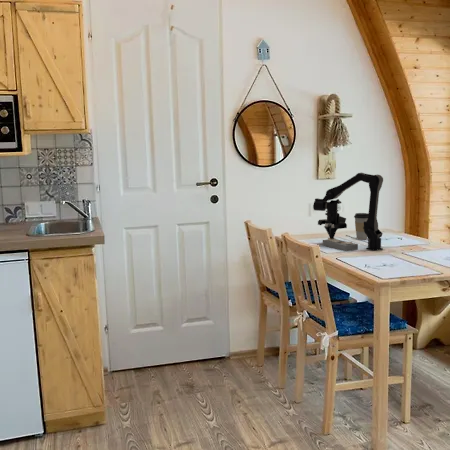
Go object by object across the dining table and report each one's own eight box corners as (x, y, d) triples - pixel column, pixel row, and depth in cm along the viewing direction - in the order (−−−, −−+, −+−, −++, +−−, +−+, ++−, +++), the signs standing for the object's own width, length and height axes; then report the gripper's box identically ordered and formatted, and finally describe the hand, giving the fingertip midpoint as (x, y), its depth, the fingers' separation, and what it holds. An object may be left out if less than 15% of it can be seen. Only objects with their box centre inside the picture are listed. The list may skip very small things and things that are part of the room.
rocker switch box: (357, 249, 279) (357, 243, 278) (346, 251, 275) (346, 245, 275) (333, 243, 296) (333, 238, 296) (322, 245, 293) (322, 239, 292)
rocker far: (340, 243, 288) (340, 241, 288) (334, 243, 286) (335, 241, 286) (332, 239, 293) (333, 237, 293) (327, 239, 292) (327, 237, 291)
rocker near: (352, 243, 279) (352, 241, 279) (347, 244, 277) (346, 242, 277) (344, 244, 285) (344, 242, 285) (339, 244, 283) (339, 242, 283)
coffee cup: (366, 240, 304) (366, 215, 302) (350, 239, 310) (351, 214, 308) (372, 238, 312) (372, 213, 309) (357, 236, 317) (357, 212, 315)
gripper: (354, 212, 284) (354, 240, 287) (333, 208, 301) (332, 235, 303) (338, 213, 279) (338, 242, 282) (317, 210, 296) (317, 237, 298)
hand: (331, 239), depth 291 cm, fingers closed, pressing on rocker far
